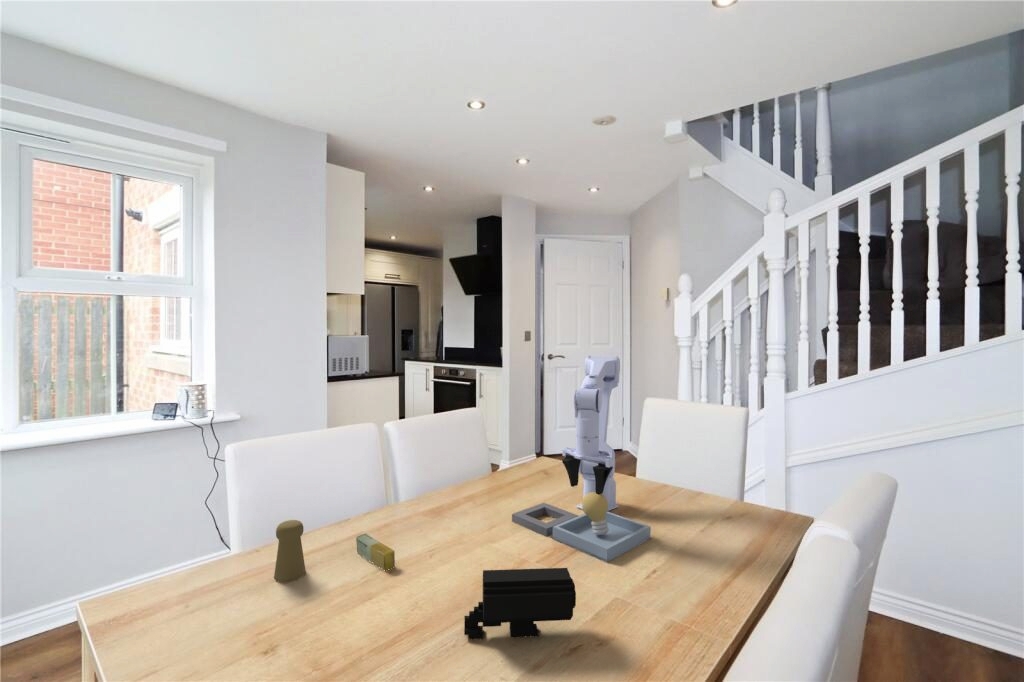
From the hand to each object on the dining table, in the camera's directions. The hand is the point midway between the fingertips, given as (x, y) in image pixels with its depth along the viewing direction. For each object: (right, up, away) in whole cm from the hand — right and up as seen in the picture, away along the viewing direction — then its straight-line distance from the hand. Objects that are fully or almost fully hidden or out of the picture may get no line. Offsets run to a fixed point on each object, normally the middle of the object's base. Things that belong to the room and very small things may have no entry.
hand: (586, 489), depth 124 cm
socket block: (-10, -10, +6) cm, 16 cm away
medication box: (-49, -11, -16) cm, 53 cm away
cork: (-65, -11, -23) cm, 69 cm away
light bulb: (+3, -10, -4) cm, 11 cm away
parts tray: (+3, -11, -4) cm, 12 cm away
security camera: (-18, -12, -41) cm, 46 cm away
